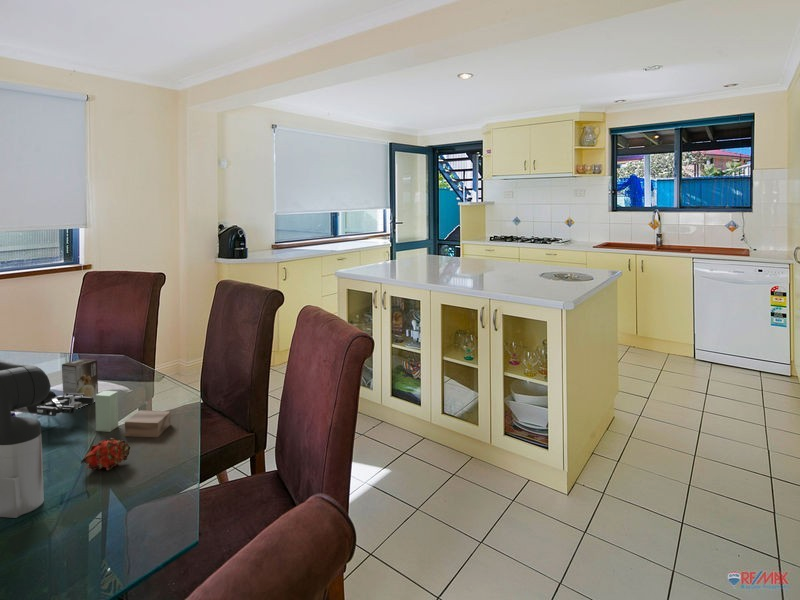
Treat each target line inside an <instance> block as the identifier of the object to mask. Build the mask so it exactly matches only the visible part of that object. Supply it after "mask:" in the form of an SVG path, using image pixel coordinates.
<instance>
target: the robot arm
mask: <svg viewBox="0 0 800 600" xmlns="http://www.w3.org/2000/svg"><path fill="white" fill-rule="evenodd" d="M50 382H51V381H50V379H49V377H48V375H47V373H46V372H45V371H44V370H42V369H41V368H40V367H38V366H37V365H31V364H30V365H28V364H16V363H12V362H10V361H5V360H1V359H0V518H10V519H11V518H13V519H15V518H16V519H17V518H18V517H20V516H22V515H25V514H28V513H31V512H32V511H35V510H37V509H38V508H39V507H41V506H42V505H43V503H44V502H45V501H44V500H45V497H44V472H43V445H42V443H43V442H42V441H43V440H42V439H43V438H42V424H41V421H39V420H38V419H37V418H33V417H23V416H13V415H12V412H14V413H22V414H29V415H37V416H38V415H39V416H48V417H55V416H57V415H62V414H68V415H69V414H71V415H73V414H75V413H77V412H76V411H77V409H76V407H75V406H74V405H75V404H90V405H92V404H95V403H94V398H93V397H85V394H83V393H66V396H63V394H62V395H56V393H55V391H51V383H50ZM78 398H79V399H78ZM69 401H72V403H71V404H69ZM75 401H77V402H75Z"/></svg>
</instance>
